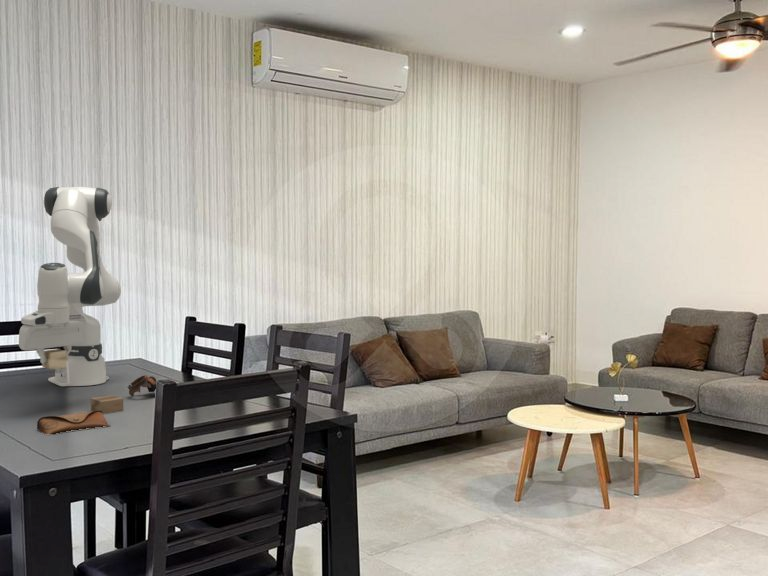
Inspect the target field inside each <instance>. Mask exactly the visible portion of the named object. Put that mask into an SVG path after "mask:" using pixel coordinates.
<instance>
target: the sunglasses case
mask: <svg viewBox="0 0 768 576" xmlns="http://www.w3.org/2000/svg"><path fill="white" fill-rule="evenodd" d="M36 425H37V426H36V429H39V430H40V431H41V432H40V431H39V432H40V433H42V432H43V433H44V435H45V434H53V435H57V434H56V433H59V434H61V433H60V432H66V431H71V430H79V429H86V428H94V429H96V428H95V427H102V428H104V427H103V426H108V427H111V424H110V425H109V423H108V421H107V420H106V417H105V416H104V414H102V411H100V410H96V411H88V412H78V413H68V414H64V415H61V414H60V415H46V416H42V417H40V418H39V419H38V420H37V422H36ZM79 431H80V430H79ZM43 433H42V434H43ZM66 433H67V432H66Z"/></svg>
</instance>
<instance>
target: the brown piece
mask: <svg viewBox="0 0 768 576" xmlns="http://www.w3.org/2000/svg"><path fill="white" fill-rule="evenodd" d="M156 382H157V379H156V378H155V376H152V375H151V376H149V377H148V375H147V374H145V375H141V376H139V377H137V378H136V379H135V380H134V381H132V382H130V384H129V385H128V386H127V389H128V390H129V391H128V393H129V395H130V397H132V396H133V397H134V395H135V393H141V387H142V388H147V391H148V393H155V389H156Z"/></svg>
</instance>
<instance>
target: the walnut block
mask: <svg viewBox="0 0 768 576" xmlns="http://www.w3.org/2000/svg"><path fill="white" fill-rule="evenodd" d="M91 410H92V411H96V410H100V411H102V414H103V413H106V414H111V413H110V412H112V413H117V411H118V412H123V411H124V398H123V397H119V396H116V395H114V394H112V395H111V394H110V395H105V396H98V397H91V398H90V411H91ZM92 411H91V412H92ZM103 415H104V414H103Z"/></svg>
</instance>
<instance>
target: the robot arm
mask: <svg viewBox="0 0 768 576" xmlns="http://www.w3.org/2000/svg"><path fill="white" fill-rule="evenodd" d="M112 204H113V203H112V197H111V195H110V193H109V191H108V190H107V189H105V188H101V187H96V188H95V187H91V186H90V187H89V186H64V187H59V186H55V187H51V188H48V189H47V190H46V191H45V193H44V197H43V206H44V209H45V212H46V213H47V214H48V216H50V231H51V234H52V235H53V237H54V238H55V240H57V241H58V242H60V243H62V245H65V246H66V257H67V260H68V261H69V263H71V264H72V265H74V266H76V267H79V268H81V269H82V270H83V271H84V272H68V267H67V266H66V264H64V263H60V262H49V263H44V264H42V265H40V266H39V270H38V273H37V274H38V276H37V290H36V291H37V296H38V303H37V310H36V311H34V312H31V313H30V314H27V315H24V316H22V317H21V319H20V322H21V324H22V326H21V327H20V329H19V333H18V347H19V348H20V349H21V351H35V350H36V351H35V352H36V353H37V355H38V356H39V359H40V363H41V364H42V363H48V357H45V356H44V354H43V353H42V352H44V351H45V349H51V348H52V349H53V348H61V347H62V348H63V350H64V351H66V361H67V367H64V368H56V369H53V370H54V376H52V377H48V379H47V380H48V382H50V383H52V384H54V385H57V386H59V387H84V386H85V387H87V386H94V385H101V384H105V383H106V382H107V381H108V379H109V380H110V377H109V376H108V375H107V370H106V359H105V357H103V355H102V354H103V344H102V343H101V341H102V340H101V339H102V338H101V323H100V321H99V320H98V319H96V318H95V317H93V316H91V315H88V314H86V313H84V309H83V307H96V306H98V307H99V306H107V305H111V304H116V303H117V301H118V300H119V299H120V296H121V294H122V287H121V283H120V282H119V281H118V280H117V279H116V278H115V277H114V276H112V275H111V274H110V273H109V272H108V271H107V270H106V268H105V266H104V265H103V261H102V258H101V247H100V245H101V244H100V227H99V222H101V221H102V219H104V218H106V217H108V216H109V214H110V211H111V209H112Z"/></svg>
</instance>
